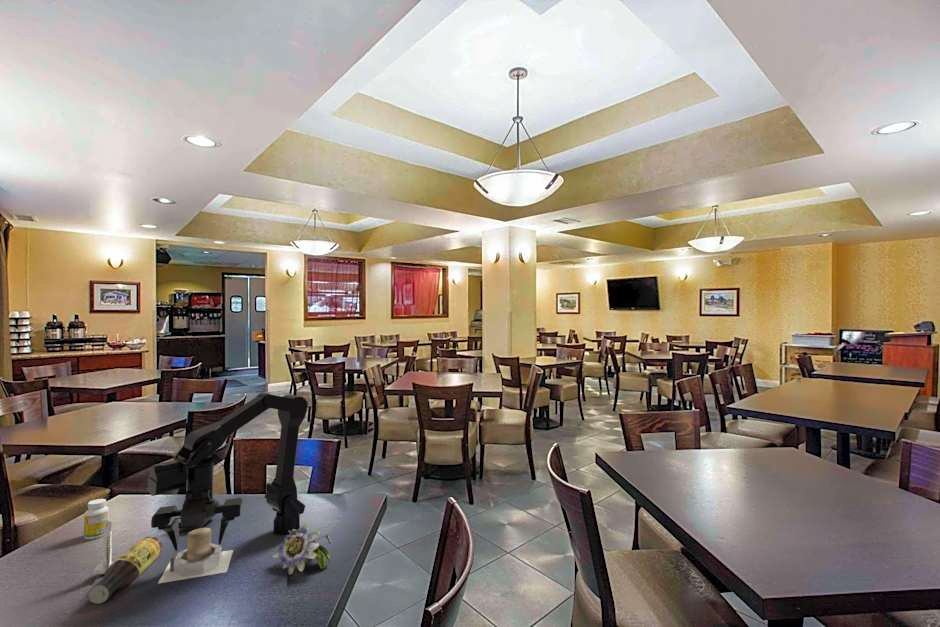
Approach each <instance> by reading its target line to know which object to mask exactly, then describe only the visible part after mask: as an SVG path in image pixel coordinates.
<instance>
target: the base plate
mask: <svg viewBox="0 0 940 627" xmlns="http://www.w3.org/2000/svg"><path fill="white" fill-rule="evenodd" d="M233 553H234V549H231V550H230V549H228V550H222V557H221V560H220V563H219V566H218V567H216V568H214V569H212V570H210V571H208V572H206V573H205V574H201V575H195V576H189V577H182V576H180V575H177V574H174V571H172V572H170V562H169V563H168V564H167V566H166V568H165V570H164V572H163V573H162V575H161V577H160V578H159V580H158V582H157V584H158V585H160V584H164V583H169V582H170V583H171V582H176V581H181V580H188V579H193V578H200V577H207V576H212V575H218V574H224V573H227V572H228V569H229V567H230V562H231V559H232V556H233Z"/></svg>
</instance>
